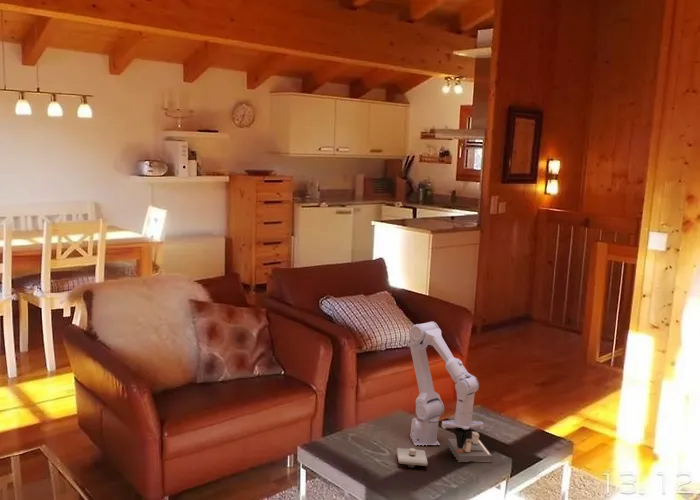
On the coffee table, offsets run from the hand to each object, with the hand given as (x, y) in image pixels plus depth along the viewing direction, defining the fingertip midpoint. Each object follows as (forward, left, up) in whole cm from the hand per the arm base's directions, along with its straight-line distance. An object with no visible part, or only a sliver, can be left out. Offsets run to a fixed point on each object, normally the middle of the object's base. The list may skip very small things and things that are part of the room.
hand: (459, 447), depth 229 cm
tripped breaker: (+3, 0, -1) cm, 3 cm away
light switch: (-18, -3, -4) cm, 19 cm away
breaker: (+8, +6, -1) cm, 10 cm away
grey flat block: (+5, +3, -4) cm, 7 cm away
